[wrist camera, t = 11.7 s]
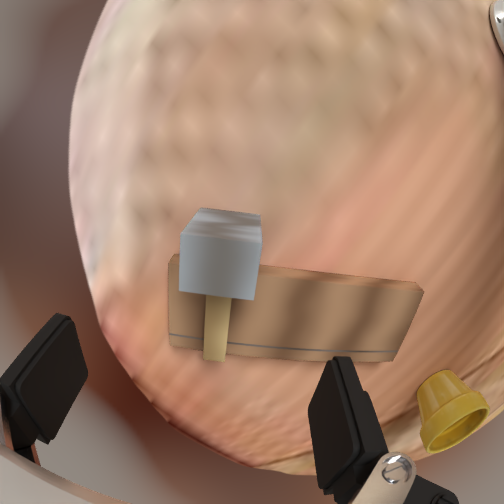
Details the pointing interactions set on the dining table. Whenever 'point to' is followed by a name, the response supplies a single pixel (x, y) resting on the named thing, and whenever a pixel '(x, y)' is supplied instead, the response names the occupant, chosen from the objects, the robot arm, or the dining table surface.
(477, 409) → the plant pot
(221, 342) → the wooden handled gray mallet
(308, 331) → the board
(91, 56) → the dining table surface
